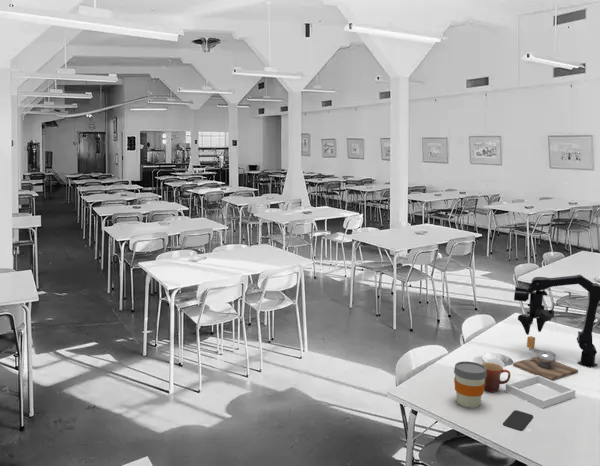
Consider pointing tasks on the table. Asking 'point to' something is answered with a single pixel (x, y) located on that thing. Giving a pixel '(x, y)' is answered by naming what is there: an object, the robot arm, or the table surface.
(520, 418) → the phone
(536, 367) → the base plate
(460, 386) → the reusable coffee cup
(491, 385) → the mug
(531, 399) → the tray frame
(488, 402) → the table surface
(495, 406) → the table surface
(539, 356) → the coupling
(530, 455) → the table surface
